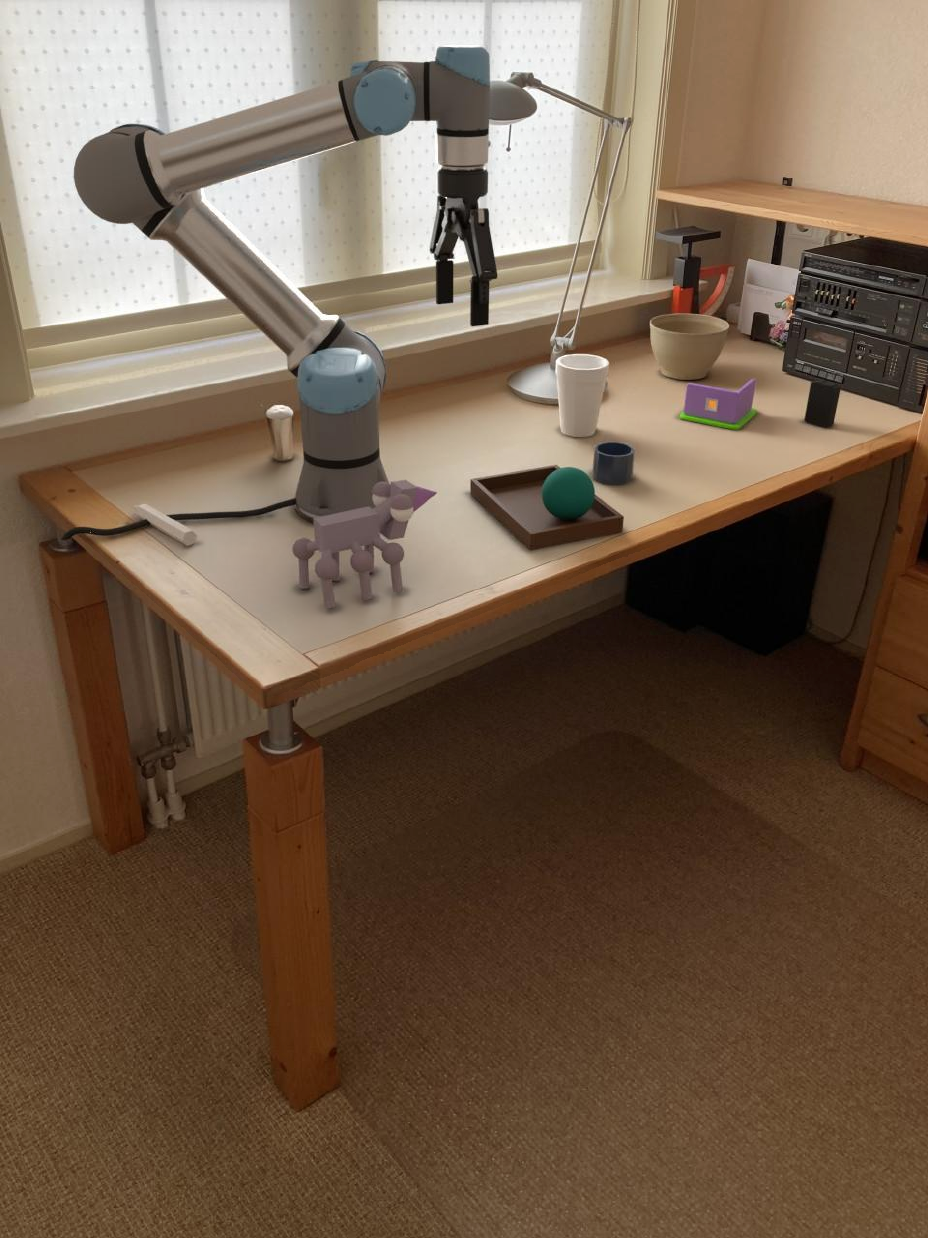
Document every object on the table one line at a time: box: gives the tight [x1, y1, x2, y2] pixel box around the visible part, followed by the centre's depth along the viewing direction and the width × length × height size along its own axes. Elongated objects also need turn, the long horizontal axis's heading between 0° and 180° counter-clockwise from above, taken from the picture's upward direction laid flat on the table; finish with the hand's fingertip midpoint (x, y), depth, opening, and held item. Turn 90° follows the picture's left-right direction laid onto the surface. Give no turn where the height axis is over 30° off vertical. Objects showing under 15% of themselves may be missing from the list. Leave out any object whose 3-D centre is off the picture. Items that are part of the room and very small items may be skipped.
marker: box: [132, 502, 198, 547], centre depth 159 cm, size 3×2×16 cm
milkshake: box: [260, 404, 294, 462], centre depth 181 cm, size 5×5×10 cm
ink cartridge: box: [803, 379, 842, 429], centre depth 198 cm, size 5×2×8 cm, turn 44°
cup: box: [592, 441, 636, 486], centre depth 176 cm, size 7×7×5 cm
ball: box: [542, 466, 596, 520], centre depth 160 cm, size 8×8×8 cm
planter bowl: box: [649, 313, 730, 381], centre depth 222 cm, size 16×16×11 cm
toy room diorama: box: [679, 378, 758, 431], centre depth 202 cm, size 12×12×7 cm
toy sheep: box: [291, 479, 438, 609], centre depth 142 cm, size 20×11×14 cm, turn 119°
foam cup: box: [554, 353, 610, 438], centre depth 192 cm, size 10×9×13 cm
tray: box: [469, 464, 625, 551], centre depth 165 cm, size 16×22×3 cm
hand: (461, 313), depth 165 cm, fingers open, 13 cm apart
